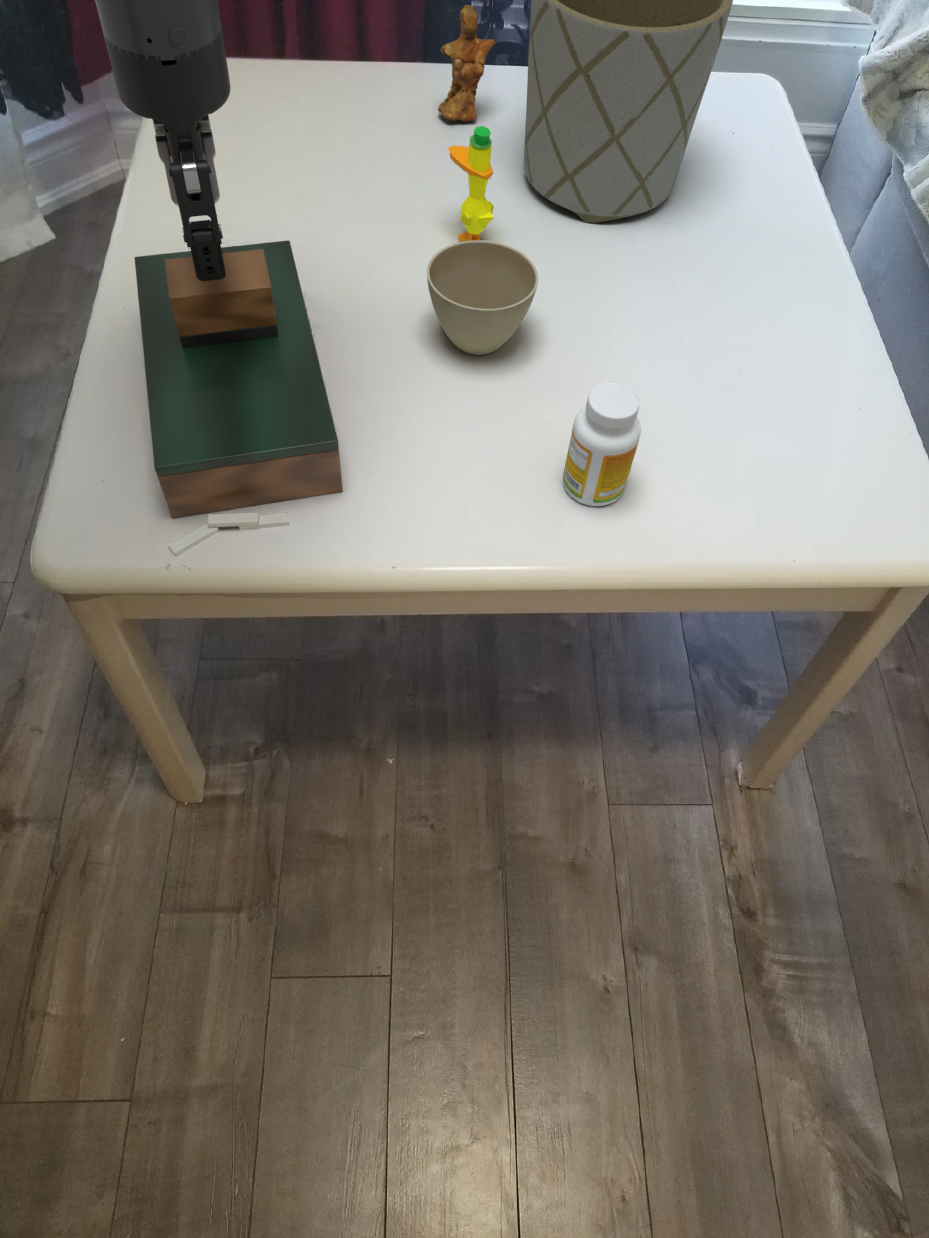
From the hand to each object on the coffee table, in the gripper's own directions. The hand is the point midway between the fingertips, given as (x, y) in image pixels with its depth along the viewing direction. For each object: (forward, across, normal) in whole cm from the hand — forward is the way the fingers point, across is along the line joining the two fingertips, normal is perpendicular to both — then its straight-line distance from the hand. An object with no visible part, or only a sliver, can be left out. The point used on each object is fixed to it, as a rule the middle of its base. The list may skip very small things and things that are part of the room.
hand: (205, 244), depth 73 cm
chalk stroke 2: (+12, +18, -2) cm, 22 cm away
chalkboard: (+13, +3, 0) cm, 14 cm away
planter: (+13, -23, +44) cm, 51 cm away
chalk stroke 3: (+13, +18, 0) cm, 22 cm away
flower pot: (+13, 0, +23) cm, 27 cm away
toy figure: (+13, -15, +27) cm, 33 cm away
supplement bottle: (+13, +20, +28) cm, 37 cm away
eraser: (+7, +1, 0) cm, 7 cm away
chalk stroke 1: (+13, +19, -5) cm, 23 cm away
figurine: (+13, -38, +32) cm, 51 cm away
